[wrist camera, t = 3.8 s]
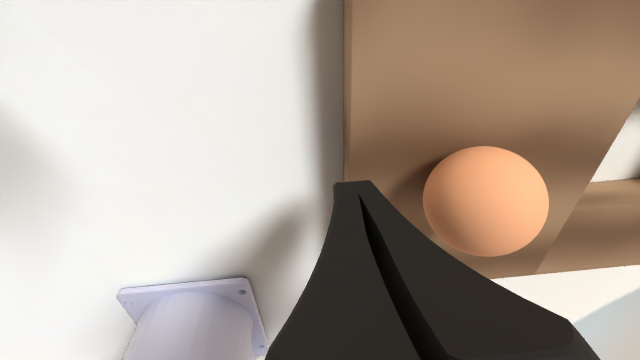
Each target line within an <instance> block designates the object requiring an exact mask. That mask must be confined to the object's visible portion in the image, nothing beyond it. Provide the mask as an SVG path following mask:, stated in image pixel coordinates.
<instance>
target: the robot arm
mask: <svg viewBox="0 0 640 360" xmlns="http://www.w3.org/2000/svg"><path fill="white" fill-rule="evenodd" d="M333 189H334V206H333V211H332V216H331V221H330V225H329V229H328V232H327V235H326V239H325V242H324V245H323V248H322V251H321V253H320V256H319V258H318V261H317V263H316V266H315V268H314V270H313V272H312V275H311V277H310V279H309V281H308V283H307V285H306V287H305V289H304V291H303V293H302V295H301V297H300V298H299V300H298V302H297V304H296V306H295V307H294V309H293V311H292V313H291V315H290V316H289V318H288V320H287V321H286V323H285V324H284V326H283V327H282V329H281V330H280V332H279V334H278V335H277V337H276V338H275V340H274V341H273V343H272V344H271V346H270V347H269V345H268V342H267V338H266V335H265V332H264V328H263V325H262V322H261V319H260V315H259V312H258V309H257V306H256V302H255V299H254V296H253V292H252V289H251V286H250V283H249V281H248V280H247V279H246V278H230V279H220V280H209V281H198V282H188V283H177V284H166V285H156V286H145V287H135V288H124V289H121V290H119V292H118V294H117V296H116V298H117V300H118V301H119V302H120V303H121V305H122V306H123V307H124V309H125V310H126V311H127V313H128V314H129V315H130V316H131V318H132V319H133V320H134V322H135V323H136V324H137V326H136V329H135V331H134V333H133V336H132V338H131V340H130V342H129V345H128V347H127V349H126V352H125V354H124V356H123V358H122V360H256V356H264V355H266V358H265V360H600V359H599V357H598V356H597V355H596V353H595V352H594V351H593V350H592V348H591V347H590V346H589V344H588V343H587V342H586V341H585V339H584V338H583V337H582V336H581V334H580V333H579V332H578V331H577V330H576V328H575V327H574V326H573V325H572V324H571V323H570V322H569V320H568V319H566V318H563V317H561V316H559V315H557V314H555V313H553V312H551V311H549V310H547V309H545V308H543V307H541V306H539V305H537V304H535V303H533V302H530V301H528V300H526V299H524V298H522V297H520V296H518V295H517V294H515V293H513V292H511V291H509V290H507V289H506V288H504V287H502V286H500V285H498V284H497V283H495V282H493V281H491V280H490V279H488V278H486V277H484V276H483V275H481V274H479V273H478V272H476V271H475V270H473V269H472V268H470V267H468V266H467V265H465V264H464V263H462V262H461V261H459V260H458V259H456V258H455V257H453V256H452V255H450V254H449V253H447V252H446V251H445V250H443V249H442V248H441V247H439V246H438V245H437V244H435V243H434V242H433V241H431V240H430V239H429V238H428V237H427V236H425V235H424V234H423V233H422V232H421V231H420V230H418V229H417V228H416V227H415V226H414V225H413V224H412V223H411V222H410V221H408V220H407V219H406V218H405V217H404V216H403V215H402V214H401V213H400V212H399V211H398V210H397V209H396V208H395V207H394V206H393V205H392V204H391V203H390V202H389V201H388V199H387V198H386V197H385V196H384V195H383V194H382V193H381V192H380V191H379V190H378V188H377V187H376V186H375V185H374V184H373V183H372V182H371V181H370V180H362V181H350V182H339V183H336V184H334V185H333Z"/></svg>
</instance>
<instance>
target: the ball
mask: <svg viewBox="0 0 640 360" xmlns="http://www.w3.org/2000/svg"><path fill="white" fill-rule="evenodd" d="M423 207H424V212H425V216H426V218H427V220H428V222H429V225H430V226H431V228H432V229H433V231H434V232H435V233H436V234H437V235H438V236H439V237H440V238H441V239H442V240H443V241H444V242H445V243H447V244H448V245H450V246H451V247H453V248H455V249H457V250H459V251H461V252H464V253H467V254H470V255H475V256H482V257H495V256H501V255H506V254H509V253H512V252H515V251H517V250H519V249H521V248H523V247H524V246H526V245H527V244H529V243H530V242H531V241H532V240H533V239H534V238H535V237H536V236H537V235H538V234H539V232H540V231H541V229H542V227H543V225H544V223H545V221H546V219H547V215H548V210H549V197H548V192H547V188H546V185H545V183H544V181H543V179H542V177H541V176H540V174H539V173H538V171H537V170H536V169H535V168H534V167H533V166H532V165H531V164H530V163H529V162H528V161H527V160H525V159H524V158H522V157H521V156H519V155H517V154H515V153H513V152H511V151H508V150H505V149H502V148H498V147H490V146H477V147H470V148H466V149H462V150H459V151H457V152H455V153H453V154H451V155H449V156H447V157H446V158H445V159H443V160H442V161H441V162H440V163H439V164H438V165H437V166H436V167H435V168H434V169H433V170H432V172H431V173H430V175H429V177H428V179H427V181H426V184H425V187H424V192H423Z"/></svg>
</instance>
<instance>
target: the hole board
mask: <svg viewBox="0 0 640 360" xmlns="http://www.w3.org/2000/svg"><path fill="white" fill-rule="evenodd" d="M639 98H640V0H343V116H344V182H350V181H362V180H370V181H371V182H372V183H373V184H374V185H375V186H376V187H377V188H378V190H379V191H380V192H381V193H382V194H383V195H384V196H385V197H386V198H387V199H388V201H389V202H390V203H391V204H392V205H393V206H394V207H395V208H396V209H397V210H398V211H399V212H400V213H401V214H402V215H403V216H404V217H405V218H406V219H407V220H408V221H410V222H411V223H412V224H413V225H414V226H415V227H416V228H417V229H418V230H420V231H421V232H422V233H423V234H424V235H425V236H427V237H428V238H429V239H430V240H431V241H433V242H434V243H435V244H437V245H438V246H439V247H441V248H442V249H443V250H445V251H446V252H447V253H449V254H450V255H452V256H453V257H455V258H456V259H458V260H459V261H461V262H462V263H464V264H465V265H467V266H468V267H470V268H472V269H473V270H475V271H476V272H478V273H479V274H481V275H483V276H484V277H486V278H488V279H496V278H506V277H516V276H526V275H537V274H547V273H557V272H568V271H578V270H588V269H598V268H609V267H619V266H629V265H640V178H637V179H625V180H614V181H602V182H591V183H589V182H590V180H591V179H592V177H593V175H594V174H595V172H596V170H597V169H598V167H599V165H600V164H601V162H602V160H603V159H604V157H605V155H606V154H607V152H608V150H609V148H610V147H611V145H612V143H613V142H614V140H615V138H616V137H617V135H618V133H619V132H620V130H621V128H622V127H623V125H624V123H625V122H626V120H627V118H628V117H629V115H630V113H631V112H632V110H633V108H634V107H635V105H636V103H637V101H638V100H639ZM477 146H490V147H498V148H502V149H505V150H508V151H511V152H513V153H515V154H517V155H519V156H521V157H522V158H524V159H525V160H527V161H528V162H529V163H530V164H531V165H532V166H533V167H534V168H535V169H536V170H537V171H538V173H539V174H540V176H541V177H542V179H543V181H544V183H545V185H546V188H547V192H548V197H549V210H548V215H547V219H546V221H545V223H544V225H543V227H542V229H541V231H540V232H539V234H538V235H537V236H536V237H535V238H534V239H533V240H532V241H531V242H530V243H529V244H527V245H526V246H524V247H523V248H521V249H519V250H517V251H515V252H512V253H509V254H506V255H501V256H495V257H482V256H475V255H470V254H467V253H464V252H461V251H459V250H457V249H455V248H453V247H451V246H450V245H448V244H447V243H445V242H444V241H443V240H442V239H441V238H440V237H439V236H438V235H437V234H436V233H435V232H434V231H433V229H432V228H431V226H430V225H429V222H428V220H427V218H426V216H425V212H424V207H423V192H424V187H425V184H426V181H427V179H428V177H429V175H430V173H431V172H432V170H433V169H434V168H435V167H436V166H437V165H438V164H439V163H440V162H441V161H442V160H443V159H445V158H446V157H447V156H449V155H451V154H453V153H455V152H457V151H459V150H462V149H466V148H470V147H477Z"/></svg>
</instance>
